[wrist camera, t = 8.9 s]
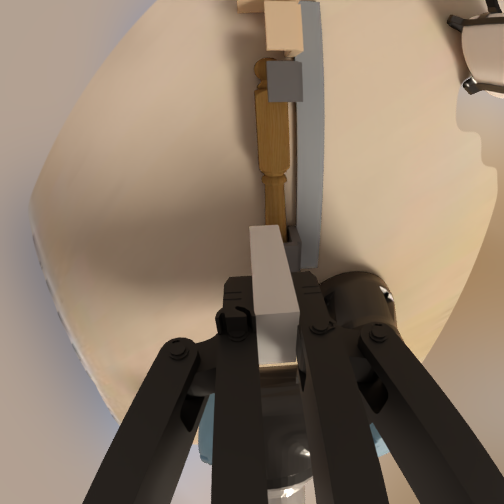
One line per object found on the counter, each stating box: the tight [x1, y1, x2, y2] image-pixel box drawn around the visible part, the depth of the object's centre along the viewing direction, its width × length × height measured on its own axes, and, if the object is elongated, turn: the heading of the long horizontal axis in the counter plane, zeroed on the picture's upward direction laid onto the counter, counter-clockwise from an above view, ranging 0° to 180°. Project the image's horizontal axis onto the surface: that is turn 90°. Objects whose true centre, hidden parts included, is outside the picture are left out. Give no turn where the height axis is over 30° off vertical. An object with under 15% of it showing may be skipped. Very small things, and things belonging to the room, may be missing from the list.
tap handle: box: [254, 58, 290, 243], centre depth 32 cm, size 3×3×30 cm
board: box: [237, 0, 324, 272], centre depth 27 cm, size 33×9×6 cm, turn 3°
